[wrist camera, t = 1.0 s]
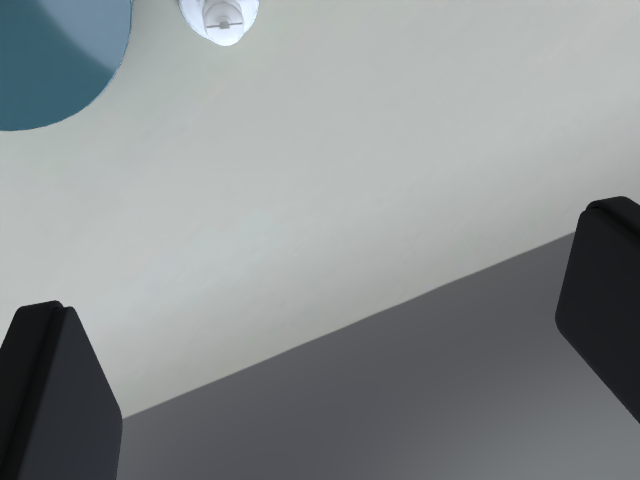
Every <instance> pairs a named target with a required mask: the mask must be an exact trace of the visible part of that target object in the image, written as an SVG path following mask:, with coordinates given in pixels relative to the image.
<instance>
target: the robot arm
mask: <svg viewBox="0 0 640 480" xmlns="http://www.w3.org/2000/svg"><path fill="white" fill-rule="evenodd" d="M555 321H556V325H557V327H558V330H559V331H560V333H561V334H562V335H563V336H564V337H565V339H567V341H568V342H569V343H570V344H571V345H572V347H573V348H574V349H575V350H576V351H577V352H578V353H579V355H580V356H581V357H582V358H583V359H584V360H585V361H586V363H587V364H588V365H589V366H590V367H591V368H592V370H593V371H594V372H595V373H596V374H597V375H598V376H599V378H600V379H601V380H602V381H603V382H604V383H605V384H606V386H607V387H608V388H609V389H610V390H611V391H612V392H613V394H614V395H615V396H616V397H617V398H618V399H619V401H620V402H621V403H622V404H623V405H624V406H625V407H626V409H627V410H629V412H630V413H631V414H632V415H633V417H634V418H635V419H636V420H637V421H638V422H639V423H640V205H638V204H637V203H635V202H634V201H632V200H631V199H629V198H627V197H624V196H618V197H613V198H608V199H602V200H597V201H593V202H591V203H590V204H589V205H588V206H587V208H586V210H585V211H583V212H582V213H581V214H580V217H579V220H578V224H577V228H576V232H575V236H574V240H573V244H572V248H571V252H570V257H569V261H568V265H567V269H566V273H565V277H564V281H563V285H562V290H561V293H560V297H559V302H558V305H557V310H556V314H555ZM121 436H122V416H121V411H120V408H119V406H118V404H117V401H116V399H115V397H114V395H113V393H112V390H111V388H110V386H109V384H108V381H107V379H106V377H105V375H104V372H103V370H102V368H101V366H100V364H99V361H98V359H97V357H96V355H95V352H94V350H93V348H92V346H91V344H90V341H89V339H88V337H87V335H86V332H85V330H84V328H83V326H82V323H81V321H80V319H79V317H78V315H77V312H76V311H75V309H74V308H73V307H63V305H62V304H61V303H60V302H59V301H56V300H55V301H49V302H44V303H38V304H33V305H28V306H22V307H20V308H18V309H17V311H16V313H15V315H14V317H13V320H12V322H11V324H10V327H9V329H8V332H7V334H6V336H5V339H4V341H3V343H2V346H1V348H0V480H116V477H117V468H118V460H119V452H120V444H121Z"/></svg>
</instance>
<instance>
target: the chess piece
mask: <svg viewBox="0 0 640 480" xmlns="http://www.w3.org/2000/svg"><path fill="white" fill-rule="evenodd" d="M178 1H179V6H180V9H181V12H182V14H183V16H184V18H185V20H186V21H187V23H188V24H189V25H190V26H191V27H192V29H193V30H195V31H196V32H197V33H198V34H200V35H201V36H203V37H205V38H207V39H210V40H212V41H213V42H214V43H216V44H219V45H223V46H228V45H232V44H234V43H236V42H237V41H238V40H239V39H240V38H241V37H242V35H243V34H244V33H245V32H246V31H247V30H248V29H249V28H250V27H251V25H252V24H253V22H254V20H255V18H256V15H257V11H258V6H259V0H178Z"/></svg>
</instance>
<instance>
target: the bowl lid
mask: <svg viewBox="0 0 640 480" xmlns="http://www.w3.org/2000/svg"><path fill="white" fill-rule="evenodd" d="M132 14H133V1H132V0H0V131H17V130H29V129H34V128H39V127H44V126H48V125H51V124H54V123H56V122H59V121H62V120H64V119H66V118H68V117H70V116H72V115H74V114H76V113H78V112H79V111H81V110H82V109H84V108H85V107H86V106H88V105H89V104H91V103H92V102H93V101H94V100H95V99H96V98H97V97H98V96H99V95H100V94H101V93H102V92H103V91H104V90H105V88H106V87H107V86H108V84H109V83H110V82H111V80H112V79H113V78H114V76H115V74H116V72H117V70H118V68H119V66H120V65H121V63H122V60H123V57H124V55H125V52H126V49H127V46H128V43H129V38H130V33H131V28H132Z"/></svg>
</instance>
